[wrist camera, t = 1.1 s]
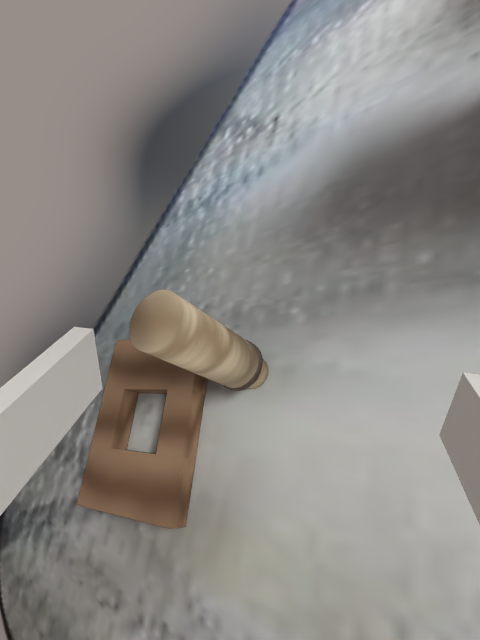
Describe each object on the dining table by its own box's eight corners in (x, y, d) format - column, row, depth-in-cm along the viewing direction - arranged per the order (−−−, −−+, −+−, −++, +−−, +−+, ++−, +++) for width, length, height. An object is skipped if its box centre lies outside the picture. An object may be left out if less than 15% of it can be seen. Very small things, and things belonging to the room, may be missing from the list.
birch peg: (235, 350, 43) (136, 292, 30) (276, 348, 40) (187, 284, 27) (230, 395, 41) (122, 354, 28) (273, 396, 38) (175, 351, 26)
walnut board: (130, 346, 52) (116, 340, 50) (212, 340, 45) (200, 333, 43) (94, 504, 45) (76, 504, 43) (185, 526, 38) (170, 528, 36)
